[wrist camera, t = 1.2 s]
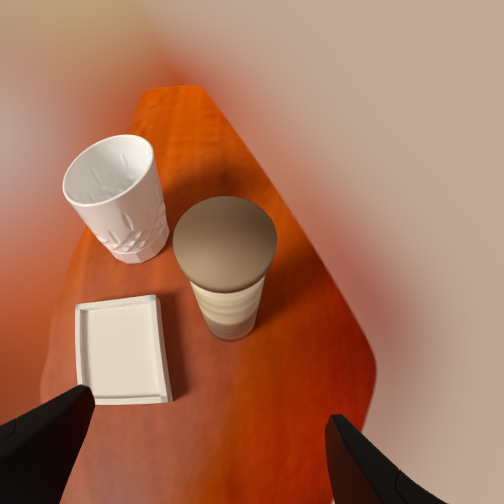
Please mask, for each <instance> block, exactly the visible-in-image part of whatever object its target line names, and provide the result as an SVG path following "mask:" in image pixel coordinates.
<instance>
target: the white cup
mask: <svg viewBox="0 0 504 504" xmlns="http://www.w3.org/2000/svg"><path fill="white" fill-rule="evenodd" d="M63 192H64V195H65V197H66V198H67V200H68V201H69V202H70V203H71V205H72V206H73V208H74V209H75V210H76V212H77V213H78V214H79V216H80V217H81V218H82V220H83V221H84V222H85V223H86V225H87V226H88V227H89V229H90V230H91V231H92V232H93V233H94V234H95V235H96V237H97V238H98V239H99V240H100V241H101V243H103V244H104V245H105V246H106V247H107V248H108V249H109V250H110V252H111V253H112V254H113V255H114V256H115V258H117V259H119V260H121V261H123V262H125V263H127V264H131V263H143V262H145V261H147V260H149V259H151V258H153V257H155V256H156V255H157V254H158V253H159V252H160V250H161V249H162V248H163V247H164V246H165V244H166V241H167V238H168V235H169V227H168V222H167V217H166V213H165V212H166V208H165V204H164V198H163V194H162V189H161V185H160V180H159V176H158V171H157V167H156V162H155V157H154V151H153V148H152V146H151V144H150V143H149V142H148V141H147V140H146V139H144V138H142V137H139V136H136V135H118V136H113V137H109V138H106V139H104V140H101V141H99V142H97V143H95V144H93V145H92V146H90V147H89V148H87V149H86V150H85V151H83V152H82V153H81V154H80V155H79V156H78V157H77V158H76V159H75V160H74V161H73V163H72V164H71V165H70V167H69V168H68V170H67V172H66V174H65V177H64V180H63Z"/></svg>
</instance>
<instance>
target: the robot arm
mask: <svg viewBox="0 0 504 504" xmlns="http://www.w3.org/2000/svg"><path fill="white" fill-rule="evenodd" d="M94 408H95V399H94V396H93V393H92V391H91V388H90V387H89V386H86V385H83V384H80V385H78V386H76V387H74V388H72V389H70V390H68V391H67V392H65V393H63V394H61V395H59V396H57V397H55V398H53V399H52V400H50V401H48V402H46V403H44V404H42V405H40V406H38V407H36V408H35V409H33V410H31V411H29V412H27V413H25V414H23V415H21V416H19V417H17V419H16V418H15V419H13V420H11V421H9V422H7V423H5V424H3V425H0V504H59V503H60V500H61V497H62V494H63V492H64V489H65V486H66V484H67V481H68V478H69V476H70V473H71V471H72V468H73V466H74V463H75V461H76V458H77V456H78V453H79V451H80V448H81V446H82V444H83V441H84V439H85V437H86V434H87V431H88V427H89V424H90V421H91V417H92V414H93V411H94ZM325 442H326V455H327V466H328V472H329V477H330V481H331V486H332V491H333V496H334V501H335V504H447V503H445V502H444V501H442V500H440V499H438V498H437V497H435V496H434V495H433V494H431V493H429V492H428V491H426V490H425V489H423V488H422V487H421V486H419V485H418V484H416V483H415V482H414V481H413V480H411V479H410V478H409V477H408V476H407V475H405V474H404V473H403V472H402V471H401V470H399V469H398V468H397V466H395V465H394V464H393V463H392V462H391V461H390V460H389V459H388V458H387V457H386V456H385V455H383V454H382V453H381V452H380V451H379V450H378V449H377V448H376V447H375V446H374V445H373V444H372V443H371V442H370V441H369V440H368V439H367V438H366V437H365V436H364V435H363V434H362V433H361V432H360V431H359V430H358V429H357V428H356V427H355V426H354V425H353V424H352V423H351V422H350V421H349V420H348V419H347V418H346V417H345V416H343V415H342V414H333V415H331V416H330V418H329V420H328V423H327V425H326V428H325Z"/></svg>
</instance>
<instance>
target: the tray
mask: <svg viewBox="0 0 504 504" xmlns="http://www.w3.org/2000/svg"><path fill="white" fill-rule="evenodd" d="M75 345H76V367H77V380H78V385H80V384H83V385H86V386H89V387H90V388H91V391H92V393H93V396H94V399H95V405H126V404H150V403H165V402H173V397H172V392H171V385H170V379H169V373H168V366H167V358H166V351H165V343H164V334H163V325H162V314H161V303H160V300H159V299H158V298H157V296H156V295H155V294H154V295H146V296H139V297H132V298H124V299H117V300H109V301H101V302H93V303H85V304H77V305H76V309H75Z"/></svg>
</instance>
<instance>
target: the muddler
mask: <svg viewBox="0 0 504 504" xmlns="http://www.w3.org/2000/svg"><path fill="white" fill-rule="evenodd" d="M276 243H277V235H276V230H275V227H274V224H273V222H272V220H271V218H270V217H269V216H268V214H267V213H266V212H265V211H264V210H263V209H262V208H260V207H259V206H258V205H256V204H255V203H253V202H251V201H248V200H246V199H243V198H239V197H233V196H219V197H213V198H209V199H206V200H203V201H201V202H199V203H197V204H195V205H194V206H192V207H191V208H190V209H188V210H187V211H186V212H185V213H184V214H183V216H182V217H181V218H180V220H179V221H178V223H177V225H176V227H175V230H174V234H173V249H174V253H175V256H176V258H177V261H178V263H179V266H180V268H181V270H182V272H183V273H184V275H185V276H186V277H187V278H188V279H189V280H190V283H191V286H192V288H193V291H194V293H195V296H196V299H197V301H198V304H199V306H200V309H201V311H202V314H203V316H204V318H205V321H206V323H207V326H208V328H209V330H210V331H211V333H212V334H213V335H214V336H215V337H217V338H218V339H220V340H223V341H227V342H235V341H239V340H242V339H243V338H245V337H246V336H248V335H249V334H250V332H251V331H252V329H253V327H254V324H255V320H256V316H257V311H258V307H259V302H260V297H261V293H262V288H263V284H264V279H265V275H266V273H267V272H268V270H269V268H270V266H271V264H272V261H273V257H274V253H275V249H276Z"/></svg>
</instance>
